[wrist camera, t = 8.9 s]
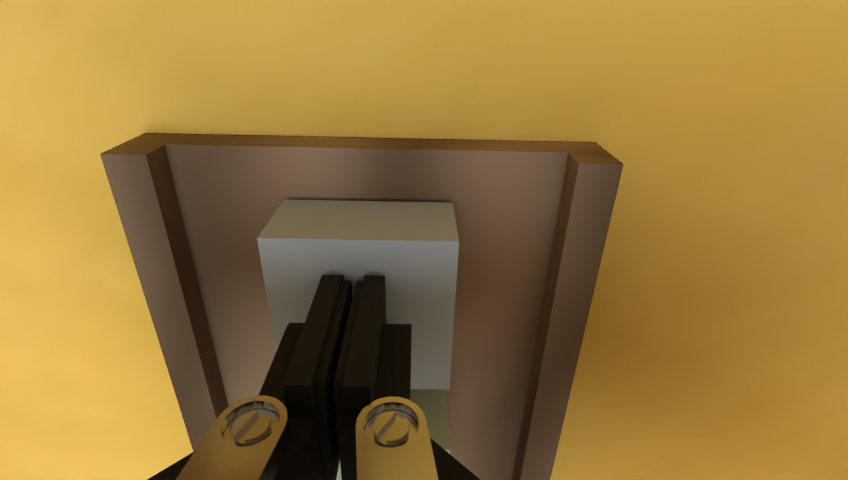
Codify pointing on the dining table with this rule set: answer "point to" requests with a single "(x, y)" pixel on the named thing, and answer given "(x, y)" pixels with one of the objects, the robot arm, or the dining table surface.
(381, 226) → the key slate
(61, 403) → the dining table surface
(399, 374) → the robot arm
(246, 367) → the key board
